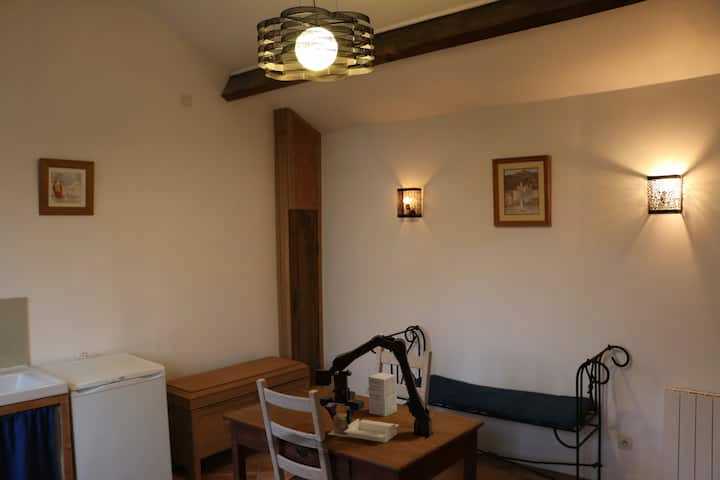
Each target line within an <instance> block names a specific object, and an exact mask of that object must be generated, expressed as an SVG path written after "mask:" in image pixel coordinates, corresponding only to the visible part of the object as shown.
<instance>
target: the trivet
mask: <svg viewBox="0 0 720 480" xmlns="http://www.w3.org/2000/svg"><path fill="white" fill-rule="evenodd" d="M327 435H331V436H338V437H344V438H348V436H347V434H345V435H343V434H336V433H334V429H332V430H331V431H330V432H328V433H327Z"/></svg>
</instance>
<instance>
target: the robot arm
mask: <svg viewBox="0 0 720 480" xmlns="http://www.w3.org/2000/svg"><path fill="white" fill-rule="evenodd" d="M377 347H379V348H382V349H385V350H387V351H391V352H392V354H393V356H394V357H395V359H396V360H397V362H398V365H399V368H400V371H401V374H402V378H403V381H404V385H405V388H406V391H407V394H408V398H406V402H405V404H406V406H407V408H408V413H410V414H411V416H412V417H414V422H413V435H414V436H419V437H424V438H427V439H428V438H430V437H431V436H432V435H433V434H434V431H433V427H432V426H433V423H432V422H433V421H432V420H433V419H432V418H431V411H430V410H429V409H428V408H427V406H426V404H425V402H424V400H423V398H422V396H421V395H420V392H419V391H418V388H417V386H416V383H415V382H416V381H415V378H414V375H413V372H412V368H411V366H410V361H409V359H408V348H407V342H406V340H405V339H404V338H402V337H396V338H394V337H391V336H384V335H381V334H377V335H375V336H374V337H373V338H371V339H368V341H365V342H364V343H362V344H360V345H359V346H356V347H355V348H354V349H352V350H349V351H345V352H342V353H340V354H338V355H336V356H335V358H334V359H333V360H332V362H331V365H332V366H330V367H329V369H320V368H319V369H316V371H315V378H314V382H315V386H316V387H330V386H331V385H332V384H333V389H332V393H333V396H334V397H333V396H329V395H325V396H323V397H321V398H319V400H320V404H321V406H320V407H324V409H325V410H326V411H327V414H328V415H329V416H330V418H331V420H332V422H333V423H334V417H333V416H335V415H337V406H341V407H342V406H343V407H348V408H347V409H346V410H345V413H346V414H347V422H348V425H349V424H351V423H352V420H353V417H354V415H355V412H356V411H357V412H358V411H360V410H361V409H362V410H363V409H364V408H365V402H364V401H363V400H361V399H355V398H356V391H352V390H351V388H350V387H349V381H348V377H351V376H352V375H353V372H352V371H351V370H350V369H349V368H348V367H349V366H350V365H351V364H352V363H353V362H355V360H357V359H359V358H361V357H362V356H364V355H366V354H367V353H369V352H371V351H373V350H374V349H376V348H377ZM346 368H347V370H345V369H346ZM351 400H352V401H351Z"/></svg>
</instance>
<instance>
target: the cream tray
mask: <svg viewBox="0 0 720 480" xmlns="http://www.w3.org/2000/svg"><path fill="white" fill-rule="evenodd" d="M399 426H400V424H396V423H389V422H384V421H383V422H382V421H377V420H376V421H375V420H367V419H362V420H360V418H357V419H355V420H354V421H351V424H349V425H348V429H347V430H345V431H344V432H346V433H347V438H355V439H361V440H366V441H367V440H368V441H374V442H379V443H387V442H388V441H390V440H391V439H393V438H394V437H395V436H396V435H397V434H398V433H397V431H398V429H397V428H398V427H399Z"/></svg>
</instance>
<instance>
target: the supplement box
mask: <svg viewBox="0 0 720 480" xmlns="http://www.w3.org/2000/svg"><path fill="white" fill-rule="evenodd" d="M367 379H368V383H367V384H368V402H369V405H368V406H369V409H368V410H369V414H372V415H377V416H382V417H387V416H390V415H391V414H394V413H396V412H398V404H397V403H398V402H397V375H396V374H390V373H385V372H378V373H376V374H373V375H371V376H367Z"/></svg>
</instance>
